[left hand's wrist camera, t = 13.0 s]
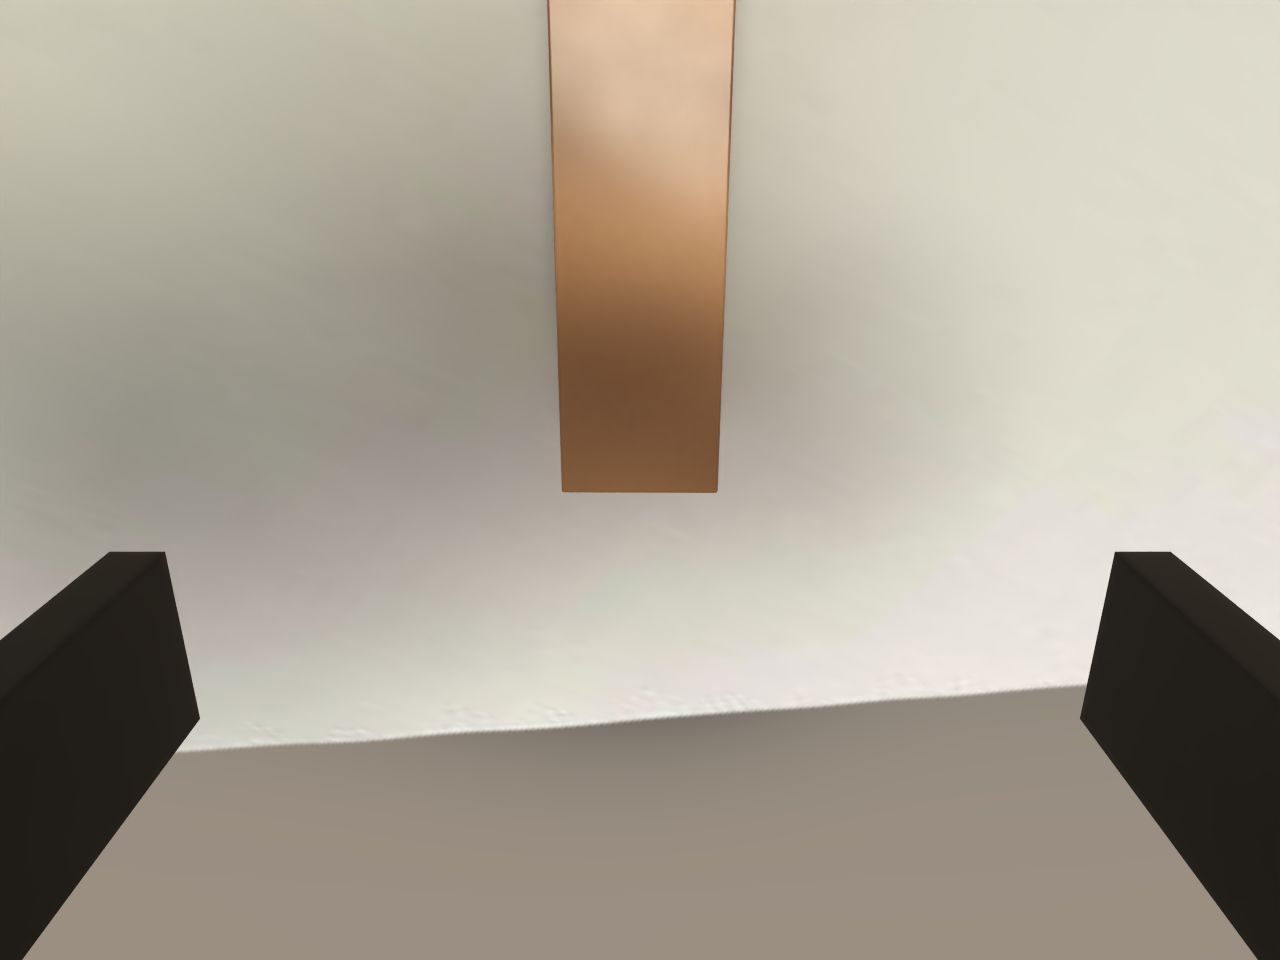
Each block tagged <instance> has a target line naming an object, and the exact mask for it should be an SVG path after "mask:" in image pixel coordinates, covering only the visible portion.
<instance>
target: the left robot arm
mask: <svg viewBox="0 0 1280 960" xmlns="http://www.w3.org/2000/svg"><path fill="white" fill-rule="evenodd" d="M199 719H200V716H199V712H198V707H197V702H196V697H195V693H194V688H193V683H192V678H191V673H190V669H189V664H188V659H187V654H186V650H185V645H184V640H183V635H182V631H181V626H180V621H179V616H178V612H177V607H176V602H175V597H174V593H173V588H172V583H171V578H170V573H169V569H168V564H167V559H166V554H165V552H109V553H107V554H106V555H105V556H104V557H102V558H101V559H100V560H99V561H98V562H96V563H95V564H94V565H93V566H91V567H90V568H89V569H88V570H86V571H85V572H84V573H83V574H81V575H80V576H79V577H78V578H77V579H75V580H74V581H73V582H72V583H70V584H69V585H68V586H67V587H65V588H64V589H63V590H62V591H60V592H59V593H58V594H57V595H56V596H54V597H53V598H52V599H51V600H49V601H48V602H47V603H46V604H44V605H43V606H42V607H41V608H39V609H38V610H37V611H36V612H35V613H33V614H32V615H31V616H30V617H28V618H27V619H26V620H25V621H23V622H22V623H21V624H20V625H18V626H17V627H16V628H15V629H14V630H12V631H11V632H10V633H9V634H7V635H6V636H5V637H4V638H2V639H1V640H0V960H22V959H23V958H24V956H25V955H26V954H27V952H28V951H29V950H30V948H31V947H32V946H33V944H34V943H35V942H36V940H37V939H38V937H39V936H40V935H41V933H42V932H43V931H44V929H45V928H46V927H47V925H48V924H49V923H50V921H51V920H52V918H53V917H54V916H55V914H56V913H57V912H58V910H59V909H60V908H61V906H62V905H63V904H64V902H65V901H66V900H67V898H68V897H69V895H70V894H71V893H72V891H73V890H74V889H75V887H76V886H77V885H78V883H79V882H80V881H81V879H82V878H83V876H84V875H85V874H86V872H87V871H88V870H89V868H90V867H91V866H92V864H93V863H94V861H95V860H96V859H97V858H98V856H99V855H100V853H101V852H102V851H103V849H104V848H105V847H106V845H107V844H108V843H109V841H110V840H111V839H112V837H113V836H114V834H115V833H116V832H117V830H118V829H119V828H120V826H121V825H122V824H123V822H124V821H125V820H126V818H127V817H128V815H129V814H130V813H131V811H132V810H133V809H134V807H135V806H136V805H137V803H138V802H139V801H140V799H141V798H142V797H143V795H144V794H145V792H146V791H147V790H148V788H149V787H150V786H151V784H152V783H153V782H154V780H155V779H156V777H157V776H158V775H159V774H160V772H161V771H162V769H163V768H164V767H165V765H166V764H167V763H168V761H169V760H170V759H171V757H172V756H173V755H174V753H175V752H176V750H177V749H178V748H179V746H180V745H181V744H182V742H183V741H184V740H185V738H186V737H187V736H188V734H189V733H190V731H191V730H192V729H193V727H194V726H195V725H196V723H197V722H198V721H199ZM1080 719H1081V721H1082V722H1083V723H1084V725H1085V726H1086V727H1087V729H1088V730H1089V731H1090V733H1091V734H1092V736H1093V737H1094V738H1095V740H1096V741H1097V742H1098V744H1099V745H1100V746H1101V748H1102V749H1103V750H1104V752H1105V753H1106V755H1107V756H1108V757H1109V759H1110V760H1111V761H1112V763H1113V764H1114V765H1115V767H1116V768H1117V769H1118V771H1119V772H1120V774H1121V775H1122V776H1123V778H1124V779H1125V780H1126V782H1127V783H1128V784H1129V786H1130V787H1131V788H1132V790H1133V791H1134V792H1135V794H1136V795H1137V797H1138V798H1139V799H1140V801H1141V802H1142V803H1143V805H1144V806H1145V807H1146V809H1147V810H1148V811H1149V813H1150V814H1151V816H1152V817H1153V818H1154V820H1155V821H1156V822H1157V824H1158V825H1159V826H1160V828H1161V829H1162V830H1163V832H1164V833H1165V834H1166V836H1167V837H1168V838H1169V840H1170V841H1171V843H1172V844H1173V845H1174V847H1175V848H1176V849H1177V851H1178V852H1179V853H1180V855H1181V856H1182V858H1183V859H1184V860H1185V862H1186V863H1187V864H1188V866H1189V867H1190V868H1191V870H1192V871H1193V872H1194V874H1195V875H1196V876H1197V878H1198V879H1199V881H1200V882H1201V883H1202V885H1203V886H1204V887H1205V889H1206V890H1207V891H1208V893H1209V894H1210V895H1211V897H1212V898H1213V899H1214V901H1215V902H1216V904H1217V905H1218V906H1219V908H1220V909H1221V910H1222V912H1223V913H1224V914H1225V916H1226V917H1227V919H1228V920H1229V921H1230V923H1231V924H1232V925H1233V927H1234V928H1235V929H1236V931H1237V932H1238V933H1239V935H1240V936H1241V937H1242V939H1243V940H1244V942H1245V943H1246V944H1247V946H1248V947H1249V948H1250V950H1251V951H1252V952H1253V954H1254V955H1255V956H1256V958H1257V959H1258V960H1280V640H1279V639H1278V638H1276V637H1275V636H1274V635H1273V634H1271V633H1270V632H1269V631H1268V630H1266V629H1265V628H1264V627H1263V626H1262V625H1260V624H1259V623H1258V622H1257V621H1255V620H1254V619H1253V618H1252V617H1250V616H1249V615H1248V614H1247V613H1245V612H1244V611H1243V610H1242V609H1241V608H1239V607H1238V606H1237V605H1236V604H1234V603H1233V602H1232V601H1231V600H1229V599H1228V598H1227V597H1226V596H1224V595H1223V594H1222V593H1221V592H1220V591H1218V590H1217V589H1216V588H1215V587H1213V586H1212V585H1211V584H1210V583H1208V582H1207V581H1206V580H1205V579H1203V578H1202V577H1201V576H1200V575H1199V574H1197V573H1196V572H1195V571H1194V570H1192V569H1191V568H1190V567H1189V566H1187V565H1186V564H1185V563H1184V562H1182V561H1181V560H1180V559H1179V558H1178V557H1176V556H1175V555H1174V554H1173V553H1171V552H1115V554H1114V559H1113V564H1112V569H1111V573H1110V578H1109V583H1108V588H1107V593H1106V597H1105V602H1104V607H1103V612H1102V616H1101V621H1100V626H1099V631H1098V635H1097V640H1096V645H1095V650H1094V654H1093V659H1092V664H1091V669H1090V673H1089V678H1088V683H1087V688H1086V693H1085V697H1084V702H1083V707H1082V712H1081V716H1080Z"/></svg>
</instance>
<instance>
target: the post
mask: <svg viewBox="0 0 1280 960" xmlns="http://www.w3.org/2000/svg"><path fill="white" fill-rule="evenodd" d="M735 6H736V0H547V8H548V41H549V75H550V108H551V142H552V175H553V209H554V242H555V276H556V310H557V343H558V377H559V410H560V444H561V477H562V492H669V493H716V492H717V491H718V466H719V439H720V412H721V385H722V358H723V331H724V304H725V277H726V250H727V223H728V196H729V169H730V141H731V114H732V87H733V60H734V33H735Z"/></svg>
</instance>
